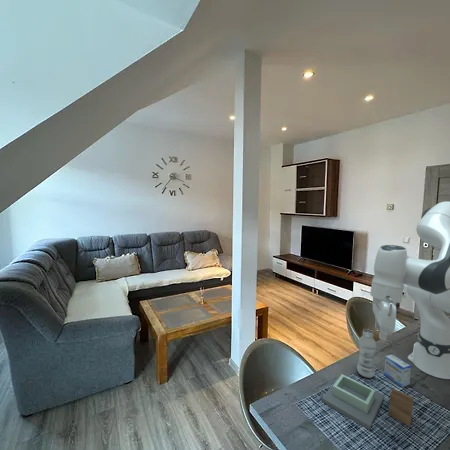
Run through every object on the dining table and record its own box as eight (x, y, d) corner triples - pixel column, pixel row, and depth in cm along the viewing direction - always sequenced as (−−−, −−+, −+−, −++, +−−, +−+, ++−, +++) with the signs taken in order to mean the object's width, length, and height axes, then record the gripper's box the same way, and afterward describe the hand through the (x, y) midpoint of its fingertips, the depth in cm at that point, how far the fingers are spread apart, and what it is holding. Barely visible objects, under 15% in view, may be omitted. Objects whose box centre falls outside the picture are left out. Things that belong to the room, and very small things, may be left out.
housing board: (340, 377, 105) (341, 366, 104) (384, 398, 94) (384, 386, 93) (322, 401, 93) (322, 389, 92) (369, 430, 81) (370, 416, 81)
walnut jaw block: (391, 408, 89) (392, 388, 88) (411, 418, 85) (413, 397, 84) (388, 415, 87) (390, 394, 86) (409, 426, 82) (411, 404, 81)
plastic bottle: (358, 367, 111) (360, 325, 109) (375, 374, 107) (378, 330, 104) (355, 375, 106) (357, 331, 104) (373, 382, 102) (375, 337, 99)
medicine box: (383, 374, 106) (384, 356, 105) (390, 372, 108) (392, 353, 107) (402, 387, 99) (403, 368, 98) (409, 384, 100) (411, 365, 99)
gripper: (404, 303, 71) (397, 350, 71) (391, 289, 90) (385, 326, 90) (379, 298, 74) (373, 343, 74) (371, 285, 92) (366, 321, 93)
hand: (380, 333), depth 82 cm, fingers open, 8 cm apart
